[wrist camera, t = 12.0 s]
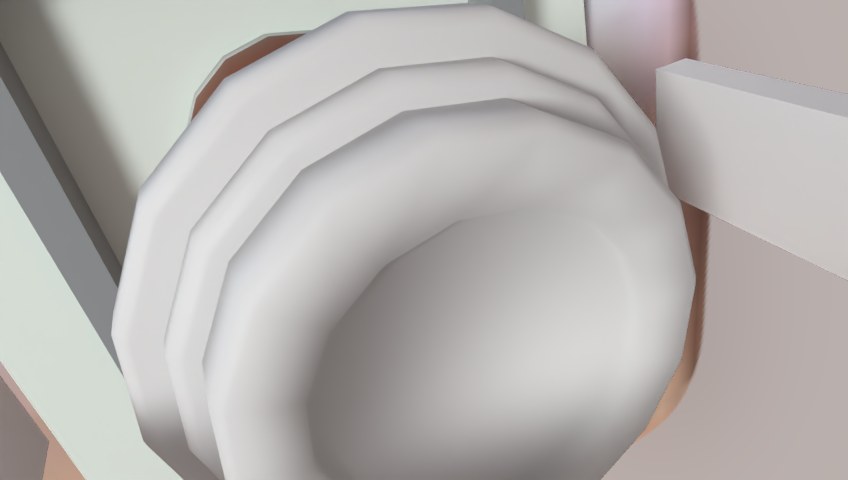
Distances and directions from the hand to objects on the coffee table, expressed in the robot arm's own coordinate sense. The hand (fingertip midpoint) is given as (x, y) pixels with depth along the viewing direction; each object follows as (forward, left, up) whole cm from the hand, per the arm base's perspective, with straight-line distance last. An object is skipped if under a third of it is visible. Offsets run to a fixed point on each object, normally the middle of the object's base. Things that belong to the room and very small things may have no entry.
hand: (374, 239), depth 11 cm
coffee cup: (0, 0, -8) cm, 8 cm away
